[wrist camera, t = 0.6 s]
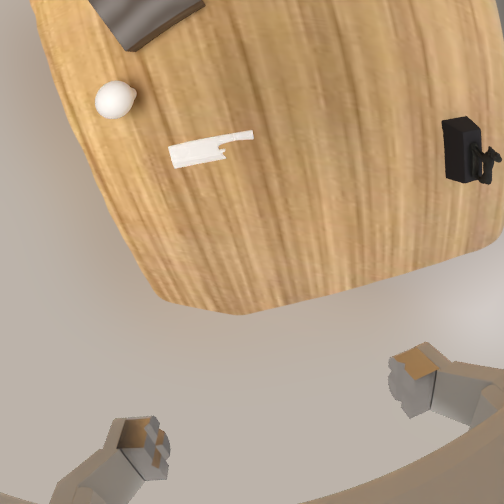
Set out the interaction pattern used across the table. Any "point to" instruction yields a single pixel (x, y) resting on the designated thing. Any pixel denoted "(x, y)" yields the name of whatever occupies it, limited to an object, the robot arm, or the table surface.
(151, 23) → the charcoal block
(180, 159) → the white plastic blade
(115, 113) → the lightbulb
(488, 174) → the sculpture
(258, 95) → the table surface
